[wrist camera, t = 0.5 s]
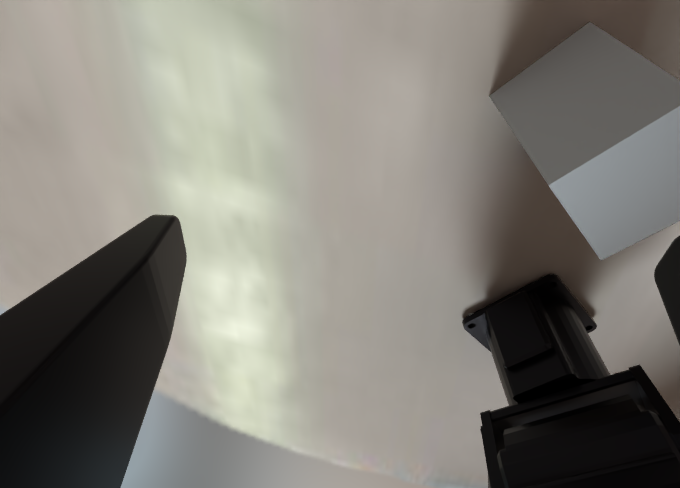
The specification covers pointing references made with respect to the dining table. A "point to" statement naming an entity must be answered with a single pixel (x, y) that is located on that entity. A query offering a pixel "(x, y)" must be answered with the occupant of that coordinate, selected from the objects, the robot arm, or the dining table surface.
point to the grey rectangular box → (601, 136)
